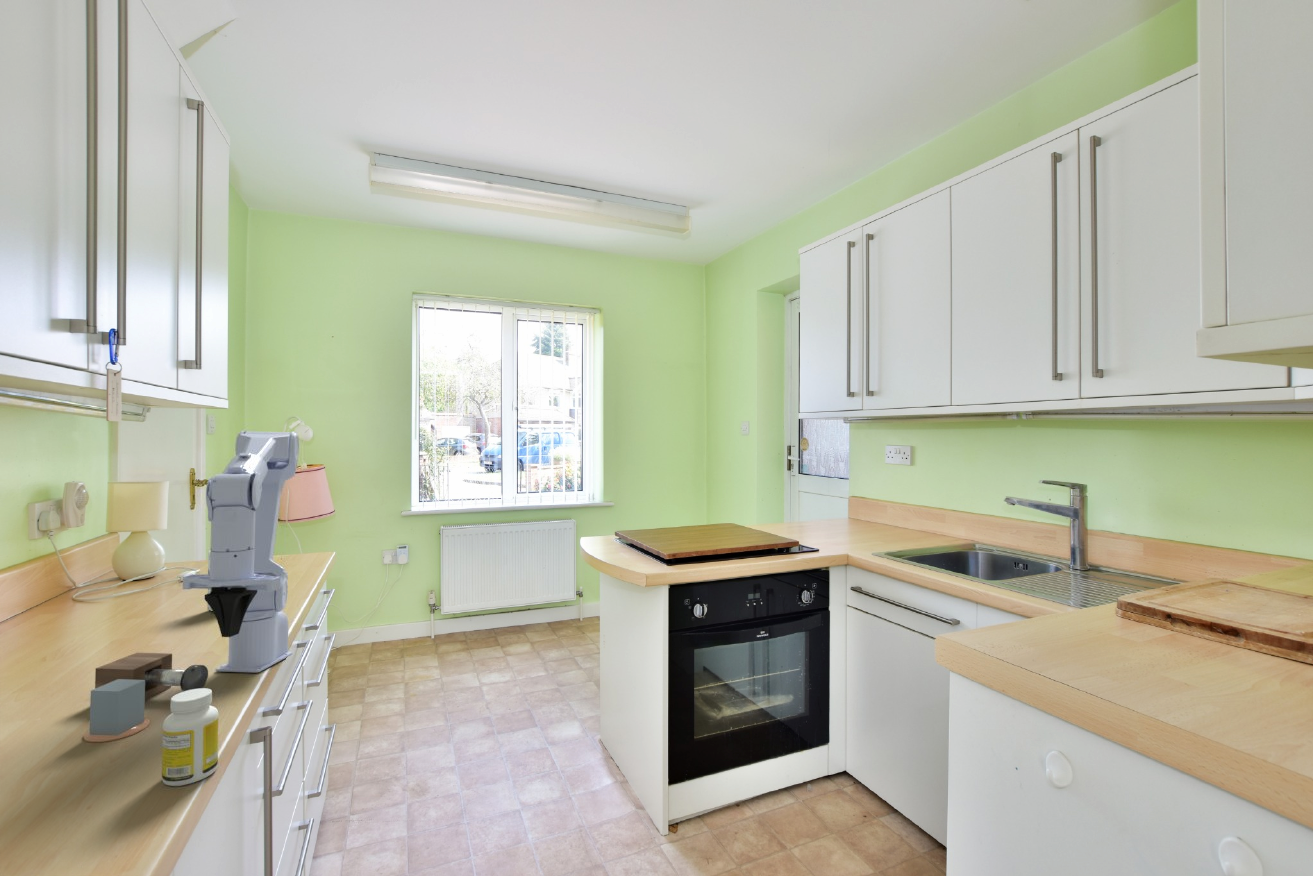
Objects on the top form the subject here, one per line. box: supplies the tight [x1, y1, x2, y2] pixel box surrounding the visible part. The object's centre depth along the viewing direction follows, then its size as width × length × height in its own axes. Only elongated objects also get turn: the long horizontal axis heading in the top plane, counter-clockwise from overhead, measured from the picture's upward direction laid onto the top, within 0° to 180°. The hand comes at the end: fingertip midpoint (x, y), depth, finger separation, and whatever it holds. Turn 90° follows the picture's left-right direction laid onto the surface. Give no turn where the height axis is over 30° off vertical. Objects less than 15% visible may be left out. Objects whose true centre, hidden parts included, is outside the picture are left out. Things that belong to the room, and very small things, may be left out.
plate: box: [83, 717, 150, 743], centre depth 83 cm, size 7×7×1 cm
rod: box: [145, 664, 209, 692], centre depth 94 cm, size 4×8×4 cm, turn 88°
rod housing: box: [94, 652, 173, 700], centre depth 94 cm, size 7×6×6 cm
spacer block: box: [89, 679, 146, 736], centre depth 83 cm, size 4×4×6 cm
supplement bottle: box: [161, 687, 219, 787], centre depth 73 cm, size 5×5×10 cm
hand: (230, 635), depth 94 cm, fingers closed
